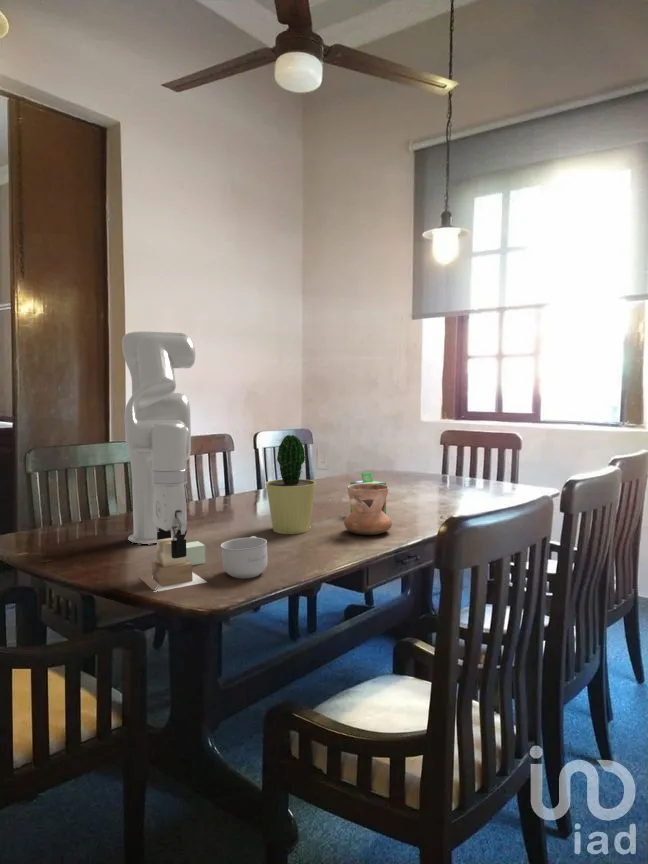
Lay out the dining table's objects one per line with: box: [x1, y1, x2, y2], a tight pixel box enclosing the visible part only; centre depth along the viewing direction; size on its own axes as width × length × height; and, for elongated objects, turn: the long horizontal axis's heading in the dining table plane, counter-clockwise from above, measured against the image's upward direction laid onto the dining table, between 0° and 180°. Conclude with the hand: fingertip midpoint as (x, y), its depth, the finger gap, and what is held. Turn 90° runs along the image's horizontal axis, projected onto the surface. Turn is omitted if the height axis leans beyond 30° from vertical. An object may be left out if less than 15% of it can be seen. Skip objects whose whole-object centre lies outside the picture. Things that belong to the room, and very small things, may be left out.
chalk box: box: [349, 471, 387, 515], centre depth 210 cm, size 9×9×15 cm
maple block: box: [156, 538, 186, 567], centre depth 139 cm, size 5×5×5 cm
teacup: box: [220, 535, 268, 579], centre depth 145 cm, size 14×11×8 cm
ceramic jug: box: [343, 483, 393, 536], centre depth 186 cm, size 18×14×14 cm
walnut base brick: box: [151, 560, 193, 587], centre depth 139 cm, size 7×7×4 cm
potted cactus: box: [265, 434, 317, 535], centre depth 189 cm, size 15×15×30 cm
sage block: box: [186, 540, 206, 566], centre depth 153 cm, size 5×5×5 cm
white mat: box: [153, 571, 207, 593], centre depth 139 cm, size 12×12×1 cm
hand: (171, 552), depth 139 cm, fingers open, 9 cm apart
